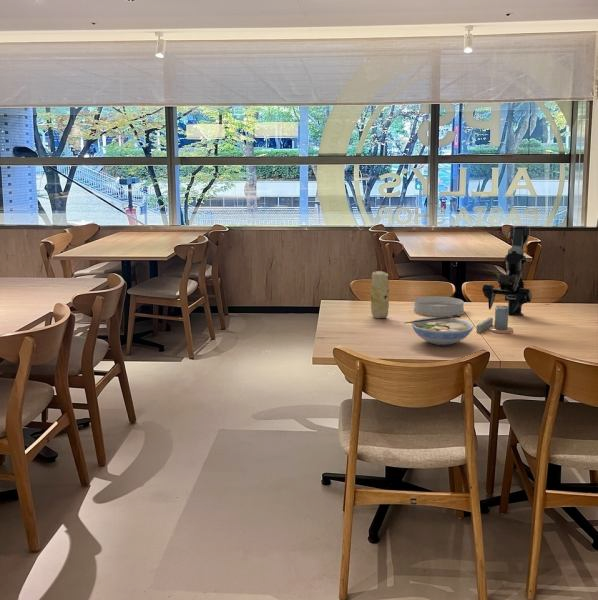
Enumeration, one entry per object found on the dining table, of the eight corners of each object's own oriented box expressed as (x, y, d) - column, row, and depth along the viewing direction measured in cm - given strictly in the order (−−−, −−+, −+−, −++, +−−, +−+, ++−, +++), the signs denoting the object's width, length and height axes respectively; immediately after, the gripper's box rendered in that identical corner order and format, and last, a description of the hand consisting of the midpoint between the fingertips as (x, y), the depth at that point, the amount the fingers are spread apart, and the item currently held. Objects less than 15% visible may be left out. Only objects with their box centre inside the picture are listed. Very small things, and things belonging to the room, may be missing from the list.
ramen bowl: (430, 354, 236) (431, 332, 234) (396, 339, 256) (396, 318, 255) (488, 346, 246) (489, 325, 244) (450, 333, 266) (451, 312, 265)
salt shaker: (493, 327, 271) (494, 305, 270) (505, 327, 271) (506, 305, 270) (496, 330, 267) (497, 307, 265) (509, 330, 266) (510, 307, 265)
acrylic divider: (489, 324, 279) (490, 317, 279) (492, 324, 279) (492, 317, 278) (476, 332, 266) (476, 325, 266) (479, 332, 266) (479, 325, 265)
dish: (446, 305, 320) (446, 294, 319) (473, 314, 299) (474, 303, 299) (404, 309, 312) (405, 298, 311) (430, 318, 292) (430, 307, 291)
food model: (392, 317, 293) (393, 272, 289) (381, 320, 289) (381, 273, 285) (376, 314, 300) (377, 269, 296) (365, 316, 296) (366, 271, 293)
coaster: (486, 328, 274) (486, 326, 273) (509, 328, 273) (509, 326, 273) (492, 333, 265) (492, 331, 265) (515, 333, 265) (515, 331, 264)
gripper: (484, 264, 273) (473, 295, 266) (531, 268, 262) (520, 301, 255) (491, 281, 280) (479, 311, 274) (536, 285, 270) (525, 317, 263)
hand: (500, 310), depth 266 cm, fingers open, 9 cm apart
